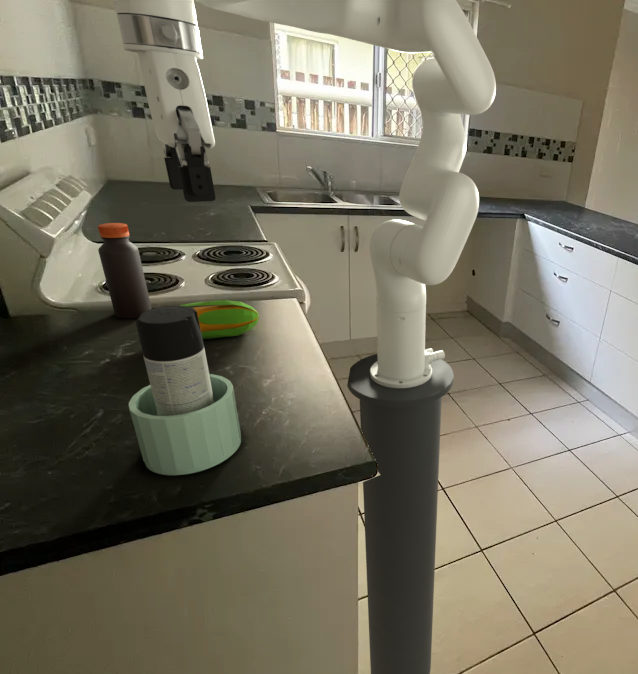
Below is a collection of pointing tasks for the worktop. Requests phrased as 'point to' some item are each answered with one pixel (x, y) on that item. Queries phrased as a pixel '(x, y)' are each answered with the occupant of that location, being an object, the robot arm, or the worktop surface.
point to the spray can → (175, 359)
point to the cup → (187, 432)
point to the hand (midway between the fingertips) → (192, 194)
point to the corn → (224, 318)
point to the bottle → (123, 271)
